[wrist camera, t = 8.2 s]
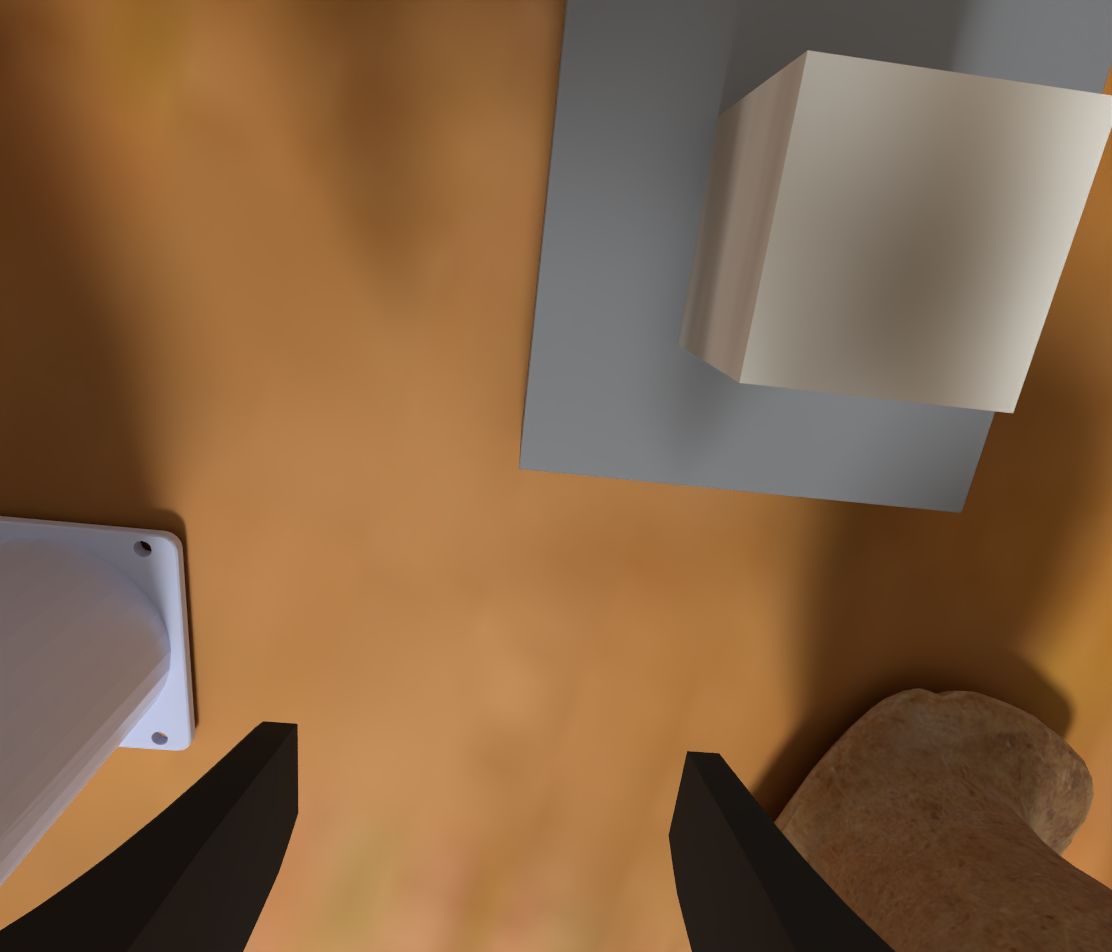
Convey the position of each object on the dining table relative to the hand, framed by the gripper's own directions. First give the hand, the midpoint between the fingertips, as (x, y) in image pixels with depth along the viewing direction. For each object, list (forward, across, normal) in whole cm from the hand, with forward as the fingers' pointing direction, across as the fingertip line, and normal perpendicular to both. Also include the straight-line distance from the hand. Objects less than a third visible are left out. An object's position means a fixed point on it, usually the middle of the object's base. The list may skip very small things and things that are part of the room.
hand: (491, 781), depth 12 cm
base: (+9, -6, -10) cm, 15 cm away
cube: (+6, -6, -10) cm, 13 cm away
